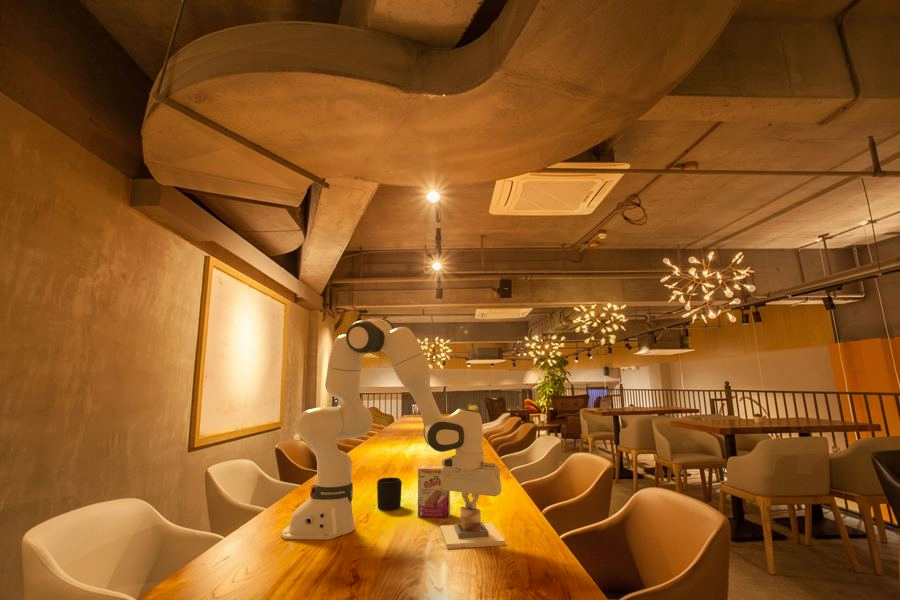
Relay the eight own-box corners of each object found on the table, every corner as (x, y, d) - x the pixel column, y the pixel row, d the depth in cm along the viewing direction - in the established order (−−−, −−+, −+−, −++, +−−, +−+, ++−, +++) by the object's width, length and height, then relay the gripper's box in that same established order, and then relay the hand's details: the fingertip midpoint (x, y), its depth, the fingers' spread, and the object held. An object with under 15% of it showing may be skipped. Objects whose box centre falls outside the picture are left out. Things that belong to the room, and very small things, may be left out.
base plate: (446, 548, 125) (446, 538, 126) (440, 529, 142) (440, 520, 142) (505, 545, 127) (504, 535, 128) (491, 526, 144) (491, 517, 145)
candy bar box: (417, 517, 155) (417, 468, 158) (419, 513, 160) (419, 466, 163) (449, 518, 154) (448, 468, 157) (450, 514, 159) (449, 466, 162)
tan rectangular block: (464, 536, 132) (464, 510, 133) (460, 530, 137) (460, 506, 138) (480, 534, 133) (480, 510, 134) (475, 529, 138) (475, 505, 139)
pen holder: (406, 506, 170) (406, 478, 172) (390, 512, 162) (391, 483, 164) (387, 503, 175) (387, 476, 177) (371, 508, 167) (372, 481, 169)
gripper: (504, 462, 136) (505, 510, 133) (448, 457, 147) (449, 502, 144) (494, 465, 131) (496, 515, 128) (437, 460, 141) (438, 506, 139)
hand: (470, 508), depth 136 cm, fingers closed, pressing on tan rectangular block
